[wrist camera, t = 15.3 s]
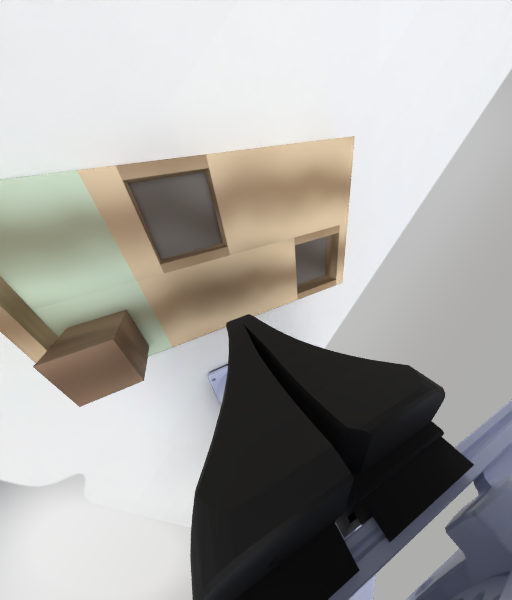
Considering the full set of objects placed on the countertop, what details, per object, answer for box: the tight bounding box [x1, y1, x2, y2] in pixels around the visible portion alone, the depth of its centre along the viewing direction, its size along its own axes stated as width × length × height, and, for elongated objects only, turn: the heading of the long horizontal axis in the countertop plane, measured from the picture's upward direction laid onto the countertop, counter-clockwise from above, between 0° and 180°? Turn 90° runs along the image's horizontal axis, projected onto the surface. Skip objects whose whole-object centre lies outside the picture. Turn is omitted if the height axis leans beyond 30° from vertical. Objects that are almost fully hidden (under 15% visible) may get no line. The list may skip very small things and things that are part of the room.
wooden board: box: [0, 136, 355, 363], centre depth 16 cm, size 14×28×4 cm, turn 100°
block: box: [33, 310, 149, 407], centre depth 13 cm, size 4×4×4 cm
